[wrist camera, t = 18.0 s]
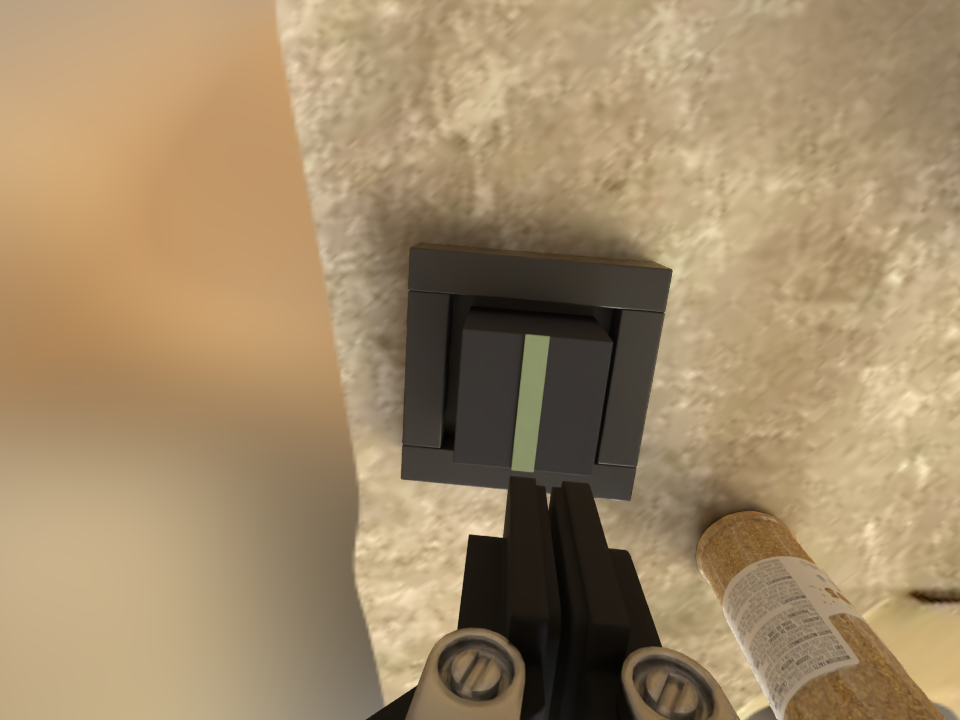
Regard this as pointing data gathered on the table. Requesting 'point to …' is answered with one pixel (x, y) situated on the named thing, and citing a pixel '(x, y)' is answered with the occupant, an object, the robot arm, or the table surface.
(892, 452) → the table surface
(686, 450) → the table surface
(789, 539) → the sprinkles bottle
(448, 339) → the socket pad
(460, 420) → the top pad
